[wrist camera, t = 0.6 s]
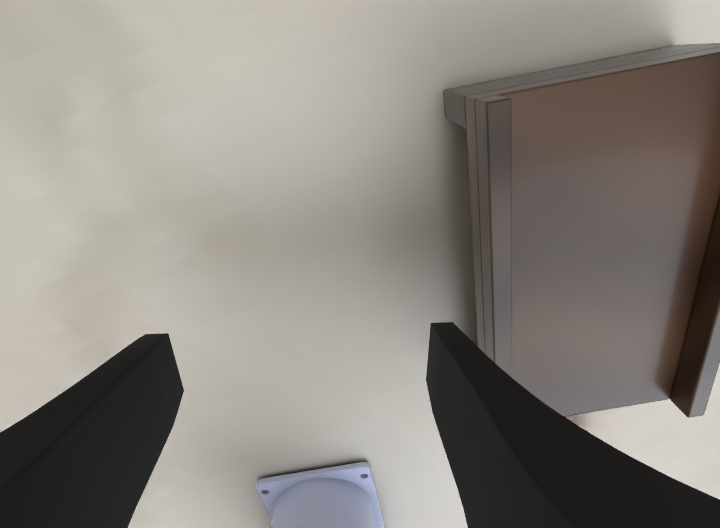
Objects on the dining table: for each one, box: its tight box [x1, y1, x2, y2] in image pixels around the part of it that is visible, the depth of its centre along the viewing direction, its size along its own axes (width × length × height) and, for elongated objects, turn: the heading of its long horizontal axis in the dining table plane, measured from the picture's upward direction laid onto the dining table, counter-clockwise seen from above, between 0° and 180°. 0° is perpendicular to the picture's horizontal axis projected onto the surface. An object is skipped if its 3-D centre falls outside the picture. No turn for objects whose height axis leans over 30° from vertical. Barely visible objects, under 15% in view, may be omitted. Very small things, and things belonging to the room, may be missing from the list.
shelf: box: [443, 43, 720, 417], centre depth 18 cm, size 16×10×6 cm, turn 10°
